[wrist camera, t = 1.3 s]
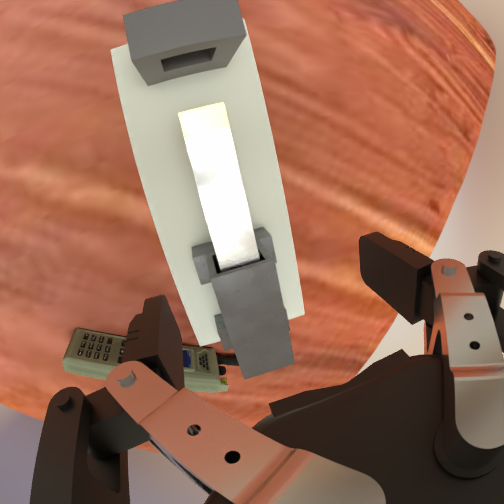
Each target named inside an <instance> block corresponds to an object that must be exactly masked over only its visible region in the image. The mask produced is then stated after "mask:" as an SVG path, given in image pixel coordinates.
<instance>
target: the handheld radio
mask: <svg viewBox="0 0 504 504" xmlns="http://www.w3.org/2000/svg"><path fill="white" fill-rule="evenodd" d="M125 342H126V337H123V336H117V335H111V334H106V333H100V332H95V331H90V330H85V329H80V328H76V329H75V331H74V333H73V336H72V338H71V340H70V343H69V345H68V348H67V350H66V353H65V355H64V358H63V360H62V363H63V367H64V370H65V371H67V372H70V373H74V374H78V375H83V376H88V377H93V378H98V379H103V380H106V378H107V376H108V374H109V373H110V372H111V371H112V370H113V369H114V368H115V367H116V366H118V365H120V364H121V362H122V357H123V352H124V347H125ZM182 349H183V368H184V384H185V388H187V389H189V390H191V391H195V392H210V393H215V392H220V391H227V390H228V387H229V385H227V378H222V377H221V378H220V375H224V374H225V373H226V368H225V367H223V366H218V365H221V364H226V365H234V366H239V363H238V360H237V357H233V356H227V357H223V356H219V355H216V351H215V349H214V348H206V347H196V346H187V345H182Z"/></svg>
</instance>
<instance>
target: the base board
mask: <svg viewBox="0 0 504 504" xmlns="http://www.w3.org/2000/svg"><path fill="white" fill-rule="evenodd" d="M242 19H243V23H244V26H245V30H246V34H247V35H246V37H245V38H244V40H243V42H242V43H241V45H240V46H239V48H238V49H237V51H236V53H235V54H234V56H233V57H232V59H231V61H230V62H229V64H228V66H227V67H224V68H219V69H214V70H209V71H204V72H200V73H195V74H191V75H187V76H183V77H179V78H175V79H171V80H168V81H164V82H161V83H157V84H154V85H150V86H148V85H147V84H146V82H145V81H144V79H143V78H142V76H141V75H140V73H139V72H138V70H137V69H136V67H135V66H134V64H133V63H132V61H131V57H130V52H129V47H128V44H125V45H122V46H119V47H117V48H114V49H111V56H112V61H113V67H114V72H115V77H116V82H117V87H118V91H119V96H120V100H121V105H122V109H123V114H124V118H125V122H126V126H127V130H128V134H129V138H130V142H131V146H132V150H133V153H134V157H135V161H136V164H137V168H138V172H139V175H140V179H141V182H142V185H143V189H144V192H145V196H146V199H147V202H148V205H149V209H150V212H151V215H152V218H153V221H154V224H155V227H156V230H157V233H158V236H159V239H160V242H161V245H162V248H163V251H164V254H165V257H166V260H167V262H168V265H169V268H170V271H171V274H172V276H173V279H174V282H175V284H176V287H177V290H178V292H179V295H180V298H181V300H182V303H183V305H184V308H185V310H186V313H187V315H188V318H189V320H190V323H191V325H192V328H193V330H194V333H195V335H196V337H197V340H198V342H199V345H200V346H204V345H208V344H211V343H215V342H218V341H221V340H220V337H219V335H218V332H217V327H216V323H215V318H214V315H217V314H220V313H221V311H220V308H219V305H218V302H217V299H216V295H215V292H214V289H213V286H212V283H207V284H204V285H201V283H200V280H199V277H198V274H197V271H196V268H195V265H194V262H193V259H192V248H191V247H193V246H197V245H200V244H204V243H207V242H210V241H212V239H211V235H210V232H209V228H208V225H207V221H206V217H205V214H204V210H203V206H202V203H201V199H200V195H199V192H198V188H197V184H196V180H195V177H194V173H193V169H192V165H191V161H190V157H189V154H188V150H187V146H186V142H185V138H184V134H183V130H182V126H181V122H180V117H179V113H182V112H186V111H189V110H193V109H197V108H201V107H205V106H210V105H214V104H218V103H223V102H224V106H225V110H226V115H227V119H228V123H229V127H230V132H231V136H232V140H233V144H234V149H235V153H236V157H237V162H238V166H239V170H240V174H241V179H242V183H243V187H244V192H245V196H246V200H247V205H248V209H249V213H250V218H251V222H252V226H253V229H256V228H260V227H264V228H265V229H266V230H267V231H268V232H269V233H270V235H271V236H272V240H273V245H274V250H275V255H276V260H277V263H275V264H276V269H277V274H278V279H279V284H280V289H281V294H282V299H283V304H284V307H285V309H286V311H287V316H288V320H289V319H292V318H295V317H298V316H301V315H304V314H305V312H304V305H303V299H302V292H301V286H300V280H299V274H298V268H297V262H296V256H295V250H294V244H293V239H292V233H291V227H290V222H289V216H288V211H287V206H286V200H285V195H284V190H283V185H282V180H281V175H280V170H279V165H278V160H277V155H276V150H275V146H274V141H273V136H272V132H271V127H270V123H269V118H268V114H267V109H266V105H265V100H264V96H263V92H262V87H261V83H260V79H259V75H258V71H257V67H256V63H255V59H254V55H253V51H252V47H251V43H250V39H249V35H248V31H247V27H246V24H245V20H244V18H242Z"/></svg>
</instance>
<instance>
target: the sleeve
mask: <svg viewBox="0 0 504 504" xmlns="http://www.w3.org/2000/svg"><path fill="white" fill-rule="evenodd" d="M253 231H254V235H255V239H256V244H257V248H258V253H259V257H260V262H256V263H253V264H249V265H246V266H243V267H239V268H236V269H233V270H229V271H226V272H222V273H221V270H220V266H219V263H218V260H217V256H216V253H215V249H214V246H213V242H212V241H210V242H207V243H204V244H200V245H197V246H193V247H191V248H192V259H193V262H194V265H195V268H196V271H197V274H198V277H199V280H200V283H201V285H204V284H207V283H212V286H213V289H214V292H215V295H216V299H217V302H218V305H219V308H220V311H221V313H220V314H217V315H214V318H215V323H216V327H217V332H218V335H219V337H220V340H221V343H222V345H223V348H224V351H225V350H229V349H232V348H233V349H234V352H235V355H236V357H237V360H238V363H239V366H240V369H241V371H242V374H243V377H244V379H248V378H251V377H254V376H258V375H261V374H264V373H267V372H270V371H273V370H276V369H279V368H282V367H285V366H288V365H291V364H294V363H295V362H294V356H293V351H292V346H291V341H290V335H289V330H290V327H289V321H288V316H287V311H286V309H285V307H284V304H283V299H282V294H281V289H280V284H279V279H278V274H277V269H276V264H275V263H277V260H276V255H275V250H274V245H273V240H272V236H271V235H270V233H269V232H268V231H267V230H266V229H265V228H264V227H260V228H256V229H253Z"/></svg>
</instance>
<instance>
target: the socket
mask: <svg viewBox="0 0 504 504" xmlns="http://www.w3.org/2000/svg"><path fill="white" fill-rule="evenodd" d="M123 18H124V24H125V30H126V36H127V41H128V47H129V52H130V57H131V61H132V63H133V64H134V66H135V67H136V69H137V70H138V72H139V73H140V75H141V76H142V78H143V79H144V81H145V82H146V84H147V85H148V86H150V85H154V84H157V83H161V82H164V81H168V80H171V79H175V78H179V77H183V76H187V75H191V74H195V73H200V72H204V71H209V70H214V69H219V68H224V67H227V66H228V64H229V62H230V61H231V59H232V57H233V56H234V54H235V53H236V51H237V49H238V48H239V46H240V45H241V43H242V42H243V40H244V38H245V37H246V35H247V34H246V30H245V26H244V23H243V19H242V15H241V12H240V8H239V4H238V1H237V0H178V1H173V2H169V3H165V4H161V5H157V6H153V7H149V8H145V9H142V10H138V11H135V12H132V13H129V14H126V15H123Z"/></svg>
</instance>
